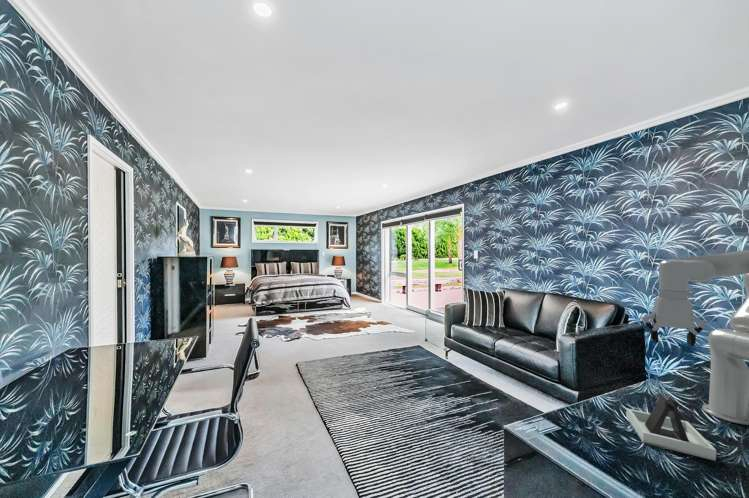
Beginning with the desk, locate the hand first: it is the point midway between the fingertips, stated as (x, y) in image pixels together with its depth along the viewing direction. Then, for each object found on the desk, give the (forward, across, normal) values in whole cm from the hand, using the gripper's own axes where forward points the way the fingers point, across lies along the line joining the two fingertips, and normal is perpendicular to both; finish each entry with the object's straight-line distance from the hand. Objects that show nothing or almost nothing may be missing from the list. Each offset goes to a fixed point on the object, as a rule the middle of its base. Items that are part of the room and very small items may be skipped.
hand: (672, 343), depth 110 cm
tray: (+26, +7, +17) cm, 32 cm away
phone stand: (+26, +7, +17) cm, 31 cm away
